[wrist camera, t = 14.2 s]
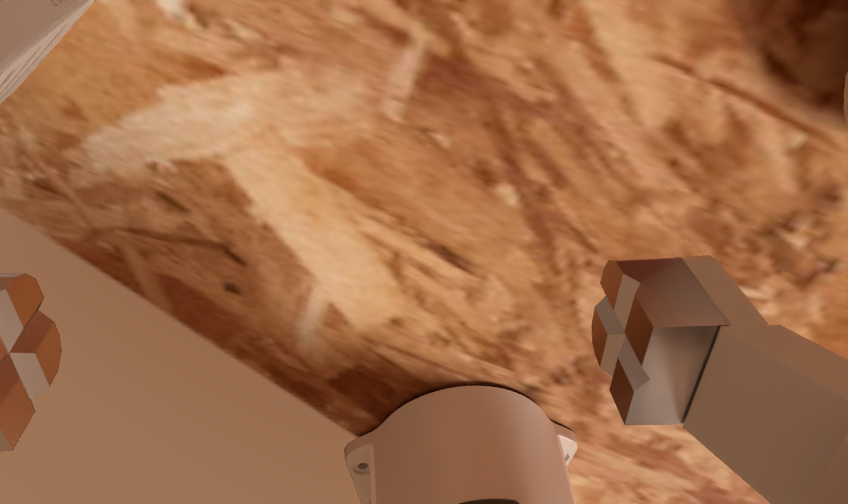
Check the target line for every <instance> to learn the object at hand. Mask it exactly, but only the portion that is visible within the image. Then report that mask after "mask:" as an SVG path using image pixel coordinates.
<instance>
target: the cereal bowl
mask: <svg viewBox="0 0 848 504" xmlns="http://www.w3.org/2000/svg"><path fill="white" fill-rule="evenodd" d="M845 78H846V80H845V88H844V112H845V124H846V126H847V128H848V72H847V74H846V76H845Z"/></svg>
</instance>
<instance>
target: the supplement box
mask: <svg viewBox="0 0 848 504" xmlns="http://www.w3.org/2000/svg"><path fill="white" fill-rule="evenodd" d="M94 1H95V0H0V103H2V102H3V101H4V100H5V99H6V98H7V97H9V96H10V95H11V94H12V93H13V92H14V91H15V90H16V89H17V88H18V87H19V86H20V85H21V84H22V83H23V82H24V81H25V79H26V78H27V77H28V76H29V75H30V74H31V73H32V71H33V70H34V69H35V68H36V67H37V66H38V65H39V64H40V62H41V61H42V60H43V59H44V58H45V57H46V56H47V55H48V53H49V52H50V51H51V50H52V49H53V48H54V47H55V46H56V44H57V43H58V42H59V41H60V40H61V39H62V38H63V36H64V35H65V34H66V33H67V32H68V31H69V29H70V28H71V27H72V26H73V25H74V24H75V23H76V22H77V20H78V19H79V18H80V17H81V16H82V15H83V13H84V12H85V11H86V10H87V9H88V7H89V6H90V5H91V4H92V3H93V2H94Z"/></svg>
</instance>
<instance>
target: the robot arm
mask: <svg viewBox="0 0 848 504" xmlns="http://www.w3.org/2000/svg"><path fill="white" fill-rule="evenodd" d="M600 284H601V286H602V288H603V290H604V292H605V294H606V297H604V298H603V299H602V300H601V301H600V302H599V303H598V304H597V305H596V306H595V309H594V314H593V320H592V343H593V348H594V352H595V356H596V358H597V361H598V363H599V366H600V368H602V369H603V370H604V371H606V372H607V373H609V374H610V375H611V376H613V378H612V382H611V386H610V392H611V395H612V397H613V399H614V402H615V404H616V406H617V409H618V411H619V413H620V416H621V418H622V420H623V422H624V425H668V424H684V425H683V428H685V429H686V430H687V431H688V432H689V433H690V434H691V435H693V436H694V437H695V438H696V439H697V440H698V441H700V442H701V443H702V444H703V445H704V446H705V447H706V448H708V449H709V450H710V451H711V452H712V453H713V454H714V455H716V456H717V457H718V458H719V459H720V460H721V461H723V462H724V463H725V464H726V465H727V466H728V467H729V468H731V469H732V470H733V471H734V472H735V473H736V474H737V475H739V476H740V477H741V478H742V479H743V480H744V481H746V482H747V483H748V484H749V485H750V486H751V487H752V488H754V489H755V490H756V491H757V492H758V493H759V494H760V495H762V496H763V497H764V498H765V499H766V500H767V501H769V502H770V503H771V504H848V360H847V359H845V358H843V357H841V356H839V355H837V354H835V353H833V352H832V351H830V350H828V349H826V348H824V347H822V346H820V345H818V344H816V343H814V342H812V341H810V340H808V339H806V338H804V337H802V336H800V335H799V334H797V333H795V332H793V331H791V330H789V329H787V328H785V327H783V326H781V325H769V324H768V323H767V322H766V321H765V319H764V318H763V317H762V316H761V314H760V313H759V312H758V311H757V309H756V308H755V307H754V306H753V304H752V303H751V302H750V301H749V299H748V298H747V297H746V296H745V294H744V293H743V292H742V291H741V289H740V288H739V287H738V286H737V284H736V283H735V282H734V281H733V279H732V278H731V277H730V276H729V274H728V273H727V272H726V271H725V269H724V268H723V267H722V266H721V264H720V263H719V262H718V261H717V260H716V259H715V258H713V257H711V256H709V255H707V256H688V257H675V258H663V259H635V260H608V262H607V264H606V265H605V267H604V269H603V273H602V277H601V282H600ZM43 299H44V296H43V294H42V291H41V289H40V287H39V285H38V283H37V281H36V279H35V278H33V277H31V276H29V275H27V274H25V273H0V451H12V450H13V449H14V447H15V446H16V444H17V442H18V441H19V438H20V437H21V435H22V434H23V432H24V430H25V429H26V427H27V425H28V423H29V422H30V420H31V418H32V416H33V414H34V413H35V409H34V407H33V404H32V401H31V399H32V398H34V397H35V396H37V395H38V394H40V393H41V392H43V391H44V390H46V389H47V388H48V387H50V385H51V383H52V381H53V379H54V377H55V376H56V374H57V372H58V368H59V363H60V357H61V352H62V351H61V343H60V335H59V333H58V330H57V328H56V325H55V323H54V322H53V321H52V320H51V319H49V318H48V317H47V316H45V315H44V314H43V313H41V312H40V311H39V310H38V309H39V307H40V305H41V303H42V301H43ZM577 447H578V445H577V440H576V436H575V434H574V433H573V432H572V431H570V430H569V429H567V428H565V427H562V426H560V425H558V424H555V423H553V422H552V421H551V420H550V419H549V418H548V417H547V416H546V415H545V413H544V412H543V411H542V409H541V408H540V407H539V406H538V405H537V404H535V403H534V402H533V401H531V400H530V399H528V398H527V397H525V396H523V395H521V394H518V393H516V392H513V391H510V390H506V389H502V388H497V387H490V386H461V387H453V388H448V389H443V390H439V391H435V392H432V393H429V394H426V395H423V396H421V397H419V398H416V399H414V400H412V401H410V402H408V403H407V404H405V405H403V406H402V407H400V408H399V409H398V410H396V411H395V412H394V413H392V414H391V415H390V416H389V417H388V418H387V419H386V420H385V421H384V422H383V423H382V424H381V425H380V426H379V427H378V428H377V429H375V430H374V431H372V432H370V433H368V434H365V435H363V436H361V437H359V438H357V439H355V440H353V441H352V442H350V443H349V444H347V445H346V447H345V450H344V451H345V459H346V463H347V466H348V469H349V471H350V474H351V477H352V479H353V482H354V484H355V487H356V489H357V492H358V495H359V497H360V500H361V503H362V504H576V501H575V497H574V493H573V489H572V485H571V481H570V477H569V473H568V469H567V465H568V464H569V462H570V460H571V459H572V457H573V455H574V454H575V452H576V450H577Z"/></svg>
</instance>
